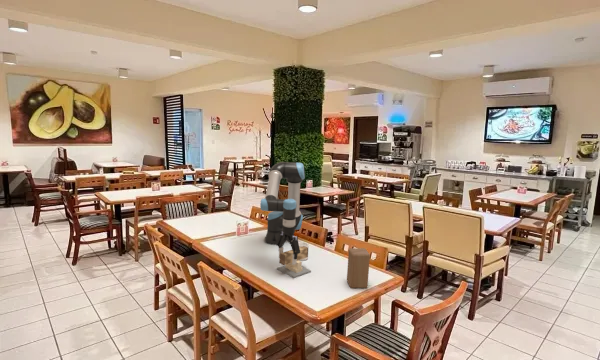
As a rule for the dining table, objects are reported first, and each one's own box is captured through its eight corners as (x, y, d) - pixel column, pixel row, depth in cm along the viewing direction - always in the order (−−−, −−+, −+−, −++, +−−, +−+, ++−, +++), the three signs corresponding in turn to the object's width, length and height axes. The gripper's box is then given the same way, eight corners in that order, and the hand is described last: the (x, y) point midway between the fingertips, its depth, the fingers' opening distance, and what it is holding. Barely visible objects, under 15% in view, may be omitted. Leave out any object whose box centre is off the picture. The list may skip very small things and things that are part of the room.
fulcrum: (293, 263, 216) (293, 253, 215) (311, 272, 204) (311, 261, 204) (276, 269, 206) (277, 258, 205) (294, 278, 195) (294, 266, 194)
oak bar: (303, 255, 213) (303, 246, 212) (308, 256, 210) (308, 247, 209) (279, 263, 199) (279, 253, 198) (283, 265, 196) (283, 255, 195)
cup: (310, 259, 225) (311, 244, 224) (295, 262, 218) (296, 247, 217) (302, 255, 232) (303, 241, 230) (288, 258, 225) (289, 244, 223)
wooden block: (346, 280, 195) (348, 247, 192) (363, 280, 196) (365, 247, 193) (350, 288, 185) (352, 254, 182) (367, 288, 186) (370, 254, 183)
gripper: (271, 222, 204) (270, 256, 207) (297, 231, 186) (296, 268, 190) (280, 220, 209) (279, 253, 212) (307, 229, 192) (305, 265, 195)
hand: (287, 260), depth 201 cm, fingers open, 11 cm apart
